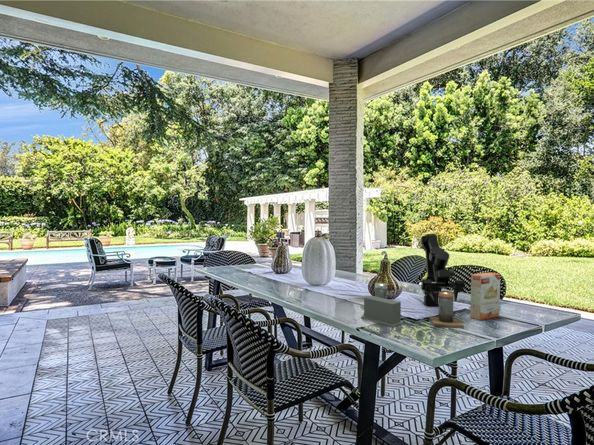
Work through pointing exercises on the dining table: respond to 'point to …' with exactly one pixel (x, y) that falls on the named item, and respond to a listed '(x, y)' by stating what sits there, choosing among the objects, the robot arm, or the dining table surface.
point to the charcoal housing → (382, 311)
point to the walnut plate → (454, 324)
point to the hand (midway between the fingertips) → (445, 300)
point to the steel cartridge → (381, 290)
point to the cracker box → (485, 296)
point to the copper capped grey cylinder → (446, 306)
